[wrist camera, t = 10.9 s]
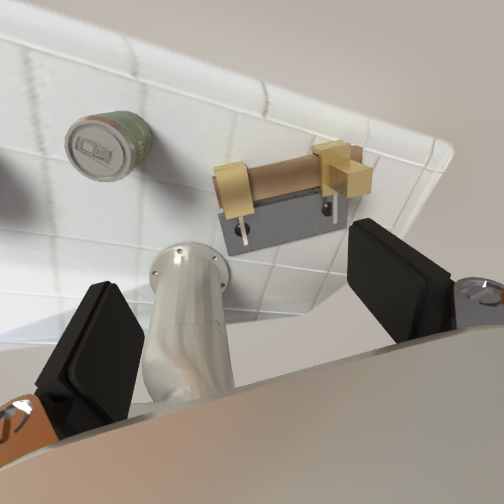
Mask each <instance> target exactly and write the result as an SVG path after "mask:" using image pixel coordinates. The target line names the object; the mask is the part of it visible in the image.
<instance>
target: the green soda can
mask: <svg viewBox="0 0 504 504" xmlns="http://www.w3.org/2000/svg"><path fill="white" fill-rule="evenodd" d="M151 145H152V134H151V131H150V129H149V126H148V125H147V124H146V122H145V121H144V120H143V119H142V118H141V117H139V116H138V115H137V114H134V113H132V112H129V111H116V112H110V113H103V114H97V115H91V116H87V117H83V118H80V119H78V120H77V121H76V122H75V123H73V124H72V125H71V127H70V128H69V130H68V132H67V134H66V136H65V150H66V154H67V157H68V159H69V160H70V162H71V164H72V165H73V166H74V167H75V168H76V169H77V170H78V171H79V172H80V173H81V174H82V175H84V176H86V177H88V178H89V179H92V180H95V181H99V182H114V181H117V180H121V179H123V178H124V177H126V176H127V175H128V174H130V173H131V171H132V170H133V169H134V168H135V167H136V166H137V165H138V164H139V163H140V161H141V160H142V159H143V158H144V157H145V156H146V155H147V154H148V152H149V150H150V149H151Z"/></svg>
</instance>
